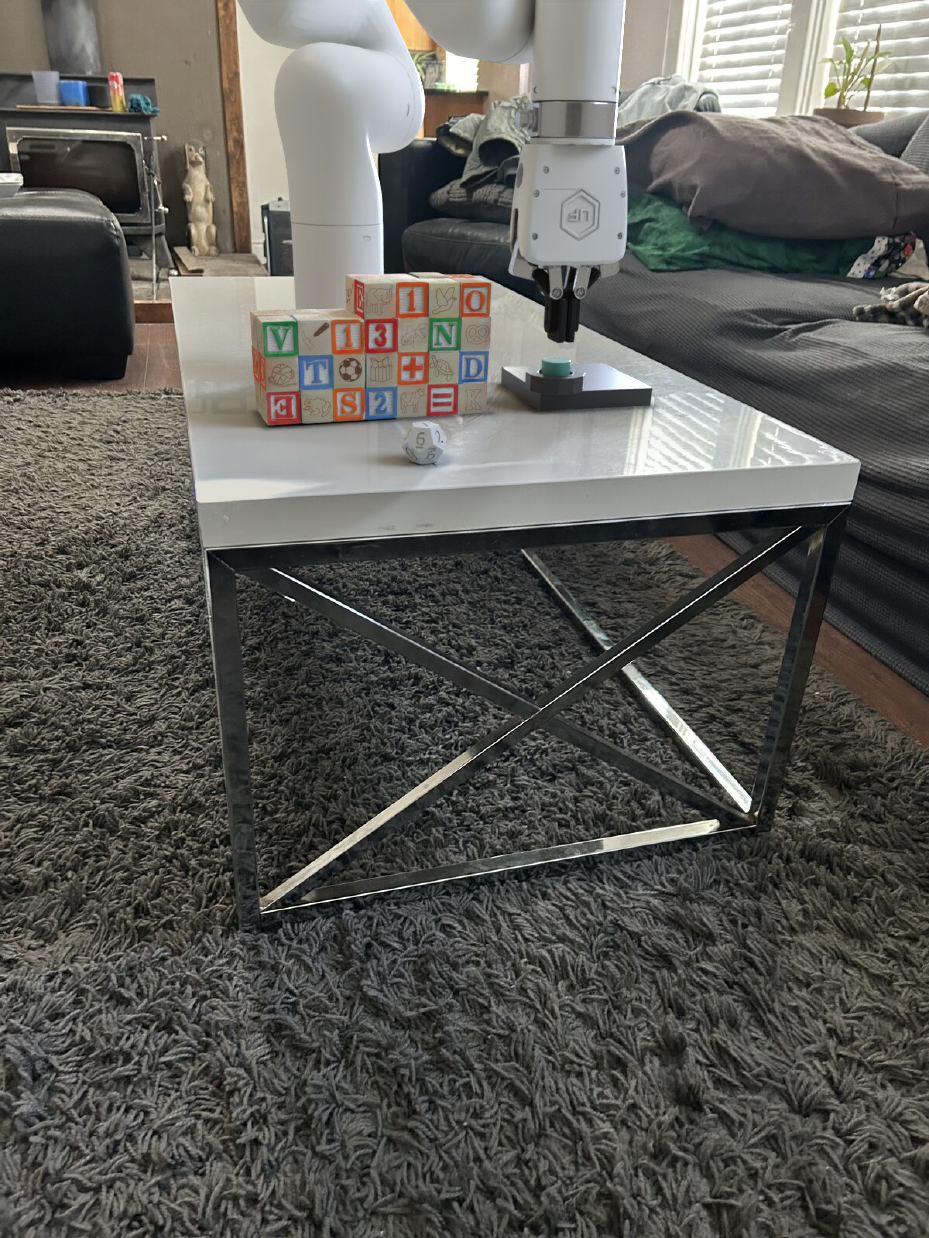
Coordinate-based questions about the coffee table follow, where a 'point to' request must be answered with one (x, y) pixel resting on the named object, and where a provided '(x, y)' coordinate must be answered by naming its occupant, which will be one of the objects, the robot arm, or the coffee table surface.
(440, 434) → the game die
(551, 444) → the coffee table surface
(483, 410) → the stack of blocks
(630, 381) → the dark grey flat block
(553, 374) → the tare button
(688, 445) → the coffee table surface
